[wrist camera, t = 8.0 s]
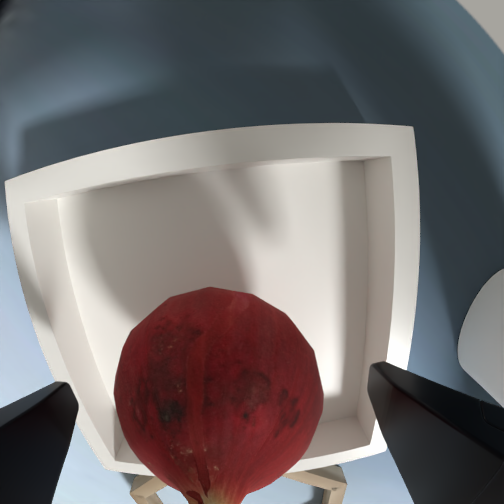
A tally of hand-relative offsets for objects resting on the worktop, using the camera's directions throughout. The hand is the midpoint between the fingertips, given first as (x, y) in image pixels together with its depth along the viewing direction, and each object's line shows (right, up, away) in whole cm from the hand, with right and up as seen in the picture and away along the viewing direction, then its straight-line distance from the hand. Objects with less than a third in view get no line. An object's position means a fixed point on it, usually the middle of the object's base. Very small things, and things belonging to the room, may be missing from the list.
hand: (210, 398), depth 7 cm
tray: (0, +1, +5) cm, 5 cm away
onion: (0, +1, +4) cm, 4 cm away
